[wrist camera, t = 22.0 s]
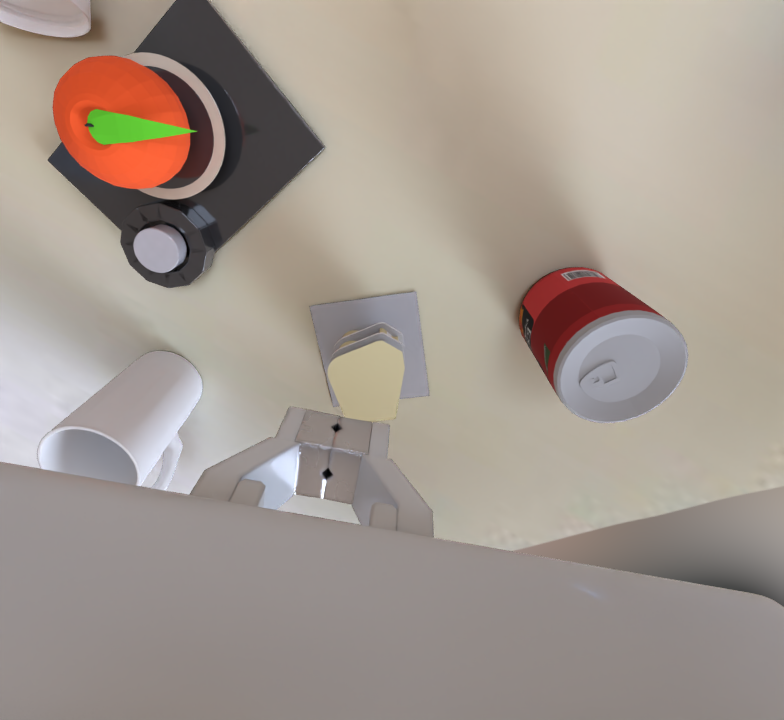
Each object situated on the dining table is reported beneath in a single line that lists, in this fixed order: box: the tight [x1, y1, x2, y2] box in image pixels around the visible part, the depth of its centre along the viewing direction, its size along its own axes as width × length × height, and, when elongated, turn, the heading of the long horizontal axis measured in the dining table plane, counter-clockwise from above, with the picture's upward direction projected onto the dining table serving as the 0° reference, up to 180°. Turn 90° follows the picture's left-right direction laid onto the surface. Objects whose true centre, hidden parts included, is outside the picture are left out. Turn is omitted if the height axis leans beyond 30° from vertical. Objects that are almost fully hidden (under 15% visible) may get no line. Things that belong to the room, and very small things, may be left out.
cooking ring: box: [122, 52, 225, 200], centre depth 30 cm, size 9×9×1 cm
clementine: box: [53, 56, 197, 189], centre depth 27 cm, size 8×7×7 cm
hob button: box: [133, 224, 187, 273], centre depth 33 cm, size 3×3×2 cm
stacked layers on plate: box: [309, 292, 429, 422], centre depth 38 cm, size 10×9×6 cm
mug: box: [37, 351, 203, 491], centre depth 37 cm, size 10×7×12 cm, turn 11°
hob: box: [48, 0, 325, 288], centre depth 32 cm, size 17×13×2 cm
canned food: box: [519, 267, 688, 423], centre depth 33 cm, size 8×8×11 cm
